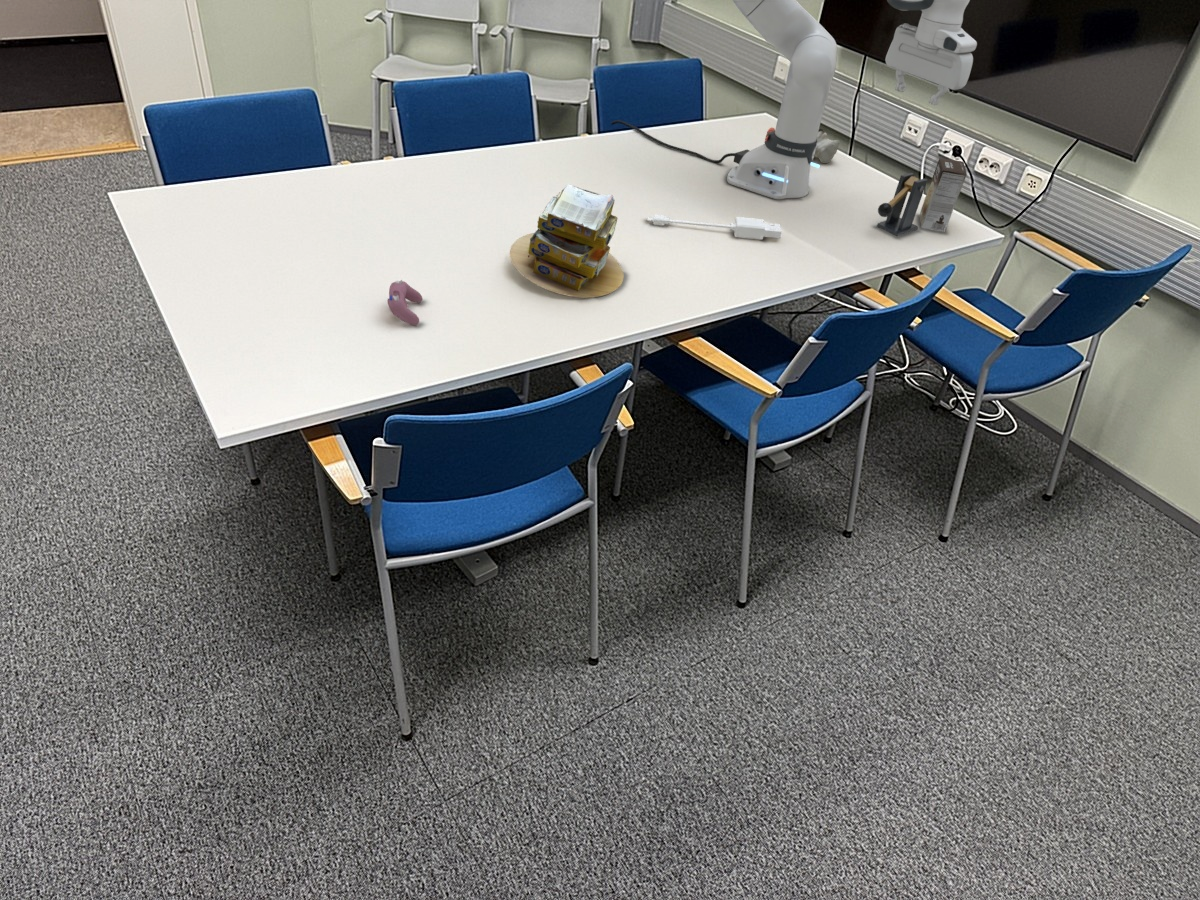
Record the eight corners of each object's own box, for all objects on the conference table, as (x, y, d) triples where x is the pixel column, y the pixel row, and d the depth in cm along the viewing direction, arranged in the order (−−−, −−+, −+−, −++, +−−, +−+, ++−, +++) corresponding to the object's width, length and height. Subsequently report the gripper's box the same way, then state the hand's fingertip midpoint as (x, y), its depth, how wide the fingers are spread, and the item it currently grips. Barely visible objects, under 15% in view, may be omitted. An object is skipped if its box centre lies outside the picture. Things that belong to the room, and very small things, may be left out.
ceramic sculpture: (829, 138, 250) (787, 124, 258) (823, 168, 255) (782, 154, 263) (851, 132, 256) (809, 119, 264) (844, 162, 261) (803, 148, 269)
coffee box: (917, 215, 235) (938, 156, 225) (941, 219, 235) (963, 161, 225) (920, 229, 228) (942, 169, 218) (945, 233, 228) (968, 173, 218)
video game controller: (404, 306, 174) (386, 277, 170) (424, 298, 173) (407, 269, 169) (399, 333, 166) (380, 303, 162) (420, 324, 166) (402, 294, 161)
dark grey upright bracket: (896, 237, 222) (914, 185, 214) (876, 227, 226) (892, 175, 217) (917, 230, 227) (935, 179, 219) (896, 220, 231) (914, 169, 222)
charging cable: (646, 221, 216) (648, 208, 214) (777, 233, 216) (780, 220, 214) (646, 229, 212) (647, 216, 210) (779, 242, 212) (782, 229, 210)
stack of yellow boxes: (642, 268, 194) (653, 196, 184) (587, 312, 177) (595, 235, 166) (548, 235, 202) (554, 164, 192) (486, 274, 185) (488, 198, 174)
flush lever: (886, 221, 218) (885, 212, 215) (875, 216, 220) (874, 206, 217) (921, 188, 220) (921, 178, 217) (910, 183, 222) (909, 173, 219)
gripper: (890, 21, 198) (872, 85, 207) (967, 47, 187) (944, 113, 195) (907, 20, 202) (888, 82, 210) (984, 45, 190) (960, 110, 199)
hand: (916, 97), depth 203 cm, fingers open, 8 cm apart
